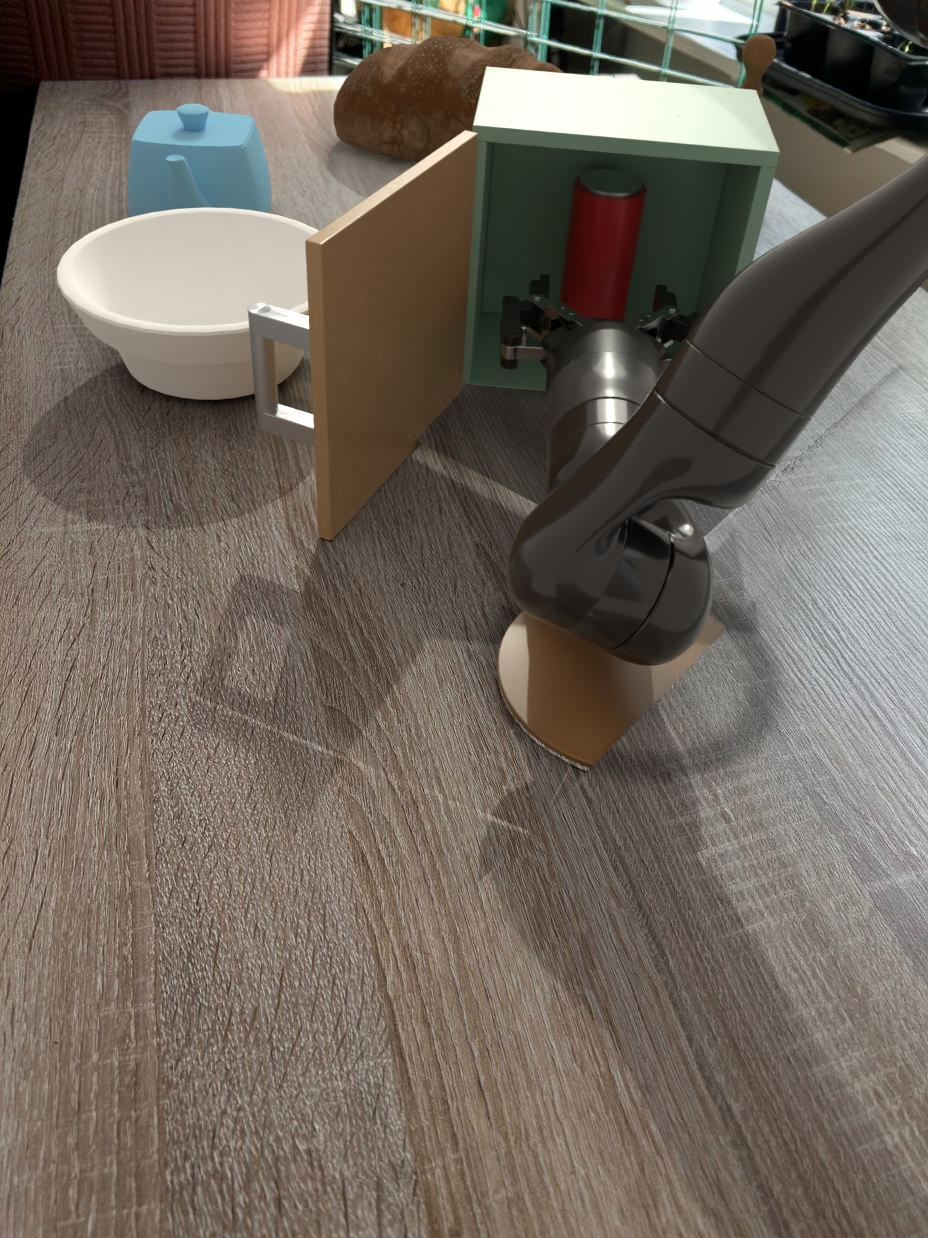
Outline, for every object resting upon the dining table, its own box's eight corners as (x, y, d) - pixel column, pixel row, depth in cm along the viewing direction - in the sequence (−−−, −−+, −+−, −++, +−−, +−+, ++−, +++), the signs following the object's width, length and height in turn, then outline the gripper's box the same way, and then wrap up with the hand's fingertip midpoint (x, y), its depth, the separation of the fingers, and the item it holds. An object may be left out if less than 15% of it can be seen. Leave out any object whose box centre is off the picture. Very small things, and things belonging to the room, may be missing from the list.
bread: (347, 116, 128) (344, 10, 120) (590, 135, 127) (603, 29, 119) (323, 163, 116) (318, 48, 109) (591, 184, 115) (605, 70, 108)
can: (578, 324, 90) (601, 161, 81) (631, 347, 88) (661, 182, 79) (540, 346, 87) (559, 179, 78) (594, 370, 85) (621, 201, 75)
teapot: (116, 280, 93) (93, 145, 86) (155, 199, 107) (138, 76, 99) (258, 286, 94) (248, 153, 86) (280, 205, 107) (272, 83, 99)
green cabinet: (713, 417, 82) (780, 151, 69) (456, 393, 83) (472, 124, 69) (699, 337, 92) (756, 89, 78) (469, 315, 92) (486, 65, 79)
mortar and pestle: (716, 210, 113) (758, 21, 101) (765, 232, 109) (814, 39, 97) (674, 224, 109) (712, 30, 97) (723, 247, 106) (768, 49, 94)
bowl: (402, 354, 87) (404, 257, 81) (220, 470, 74) (207, 364, 68) (213, 277, 95) (203, 185, 89) (17, 370, 82) (-9, 268, 76)
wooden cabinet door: (249, 513, 70) (219, 218, 57) (390, 377, 84) (393, 113, 70) (331, 541, 68) (321, 244, 55) (461, 398, 82) (478, 132, 69)
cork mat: (593, 561, 69) (595, 551, 68) (804, 674, 62) (807, 665, 62) (442, 684, 60) (443, 675, 59) (669, 832, 53) (672, 823, 53)
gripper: (732, 364, 64) (708, 250, 76) (496, 343, 64) (509, 232, 76) (705, 468, 69) (687, 345, 81) (487, 447, 69) (500, 328, 81)
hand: (601, 291), depth 78 cm, fingers open, 8 cm apart
